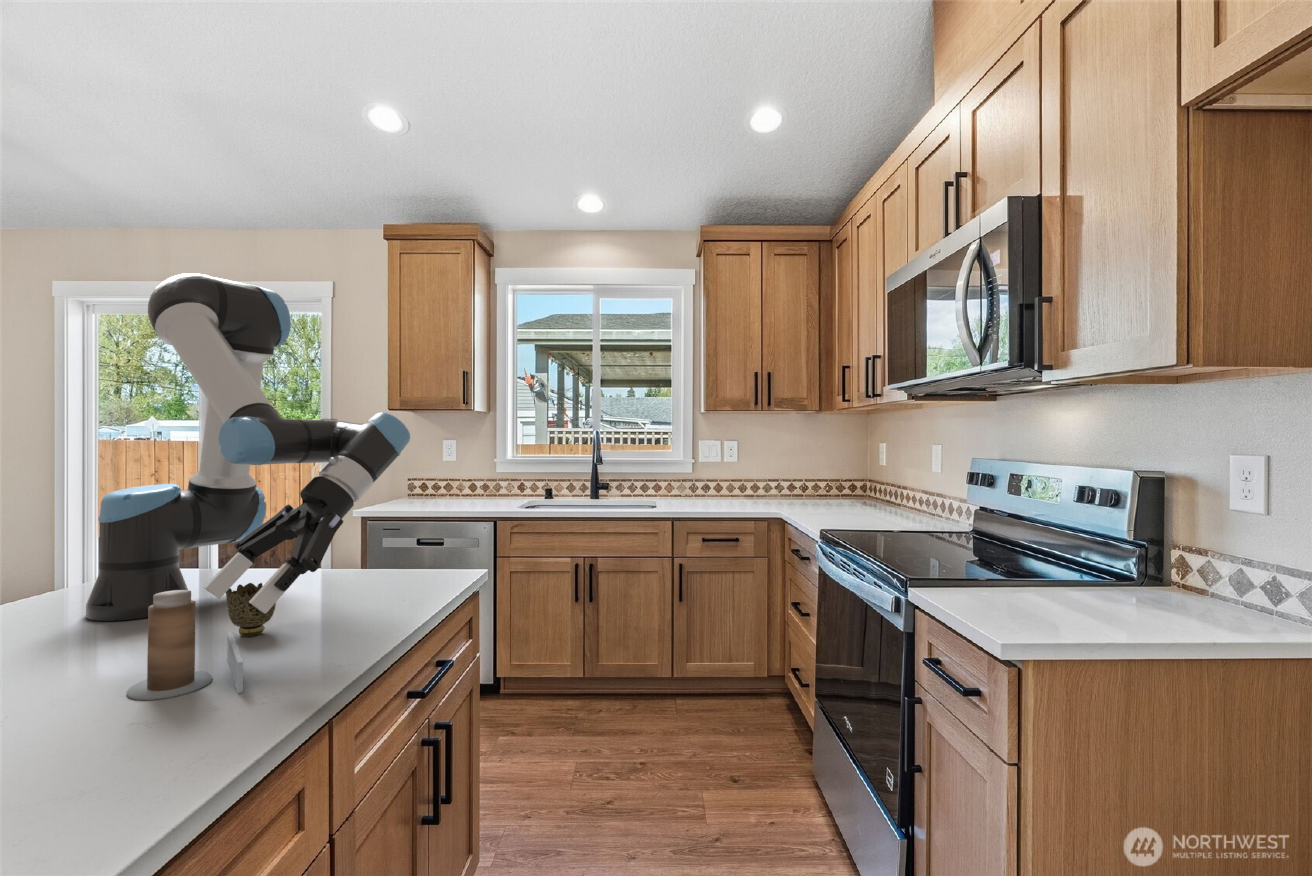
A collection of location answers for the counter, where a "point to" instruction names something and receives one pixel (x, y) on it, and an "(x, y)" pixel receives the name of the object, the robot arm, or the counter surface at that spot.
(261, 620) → the cup
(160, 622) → the pepper mill
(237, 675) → the acrylic wall
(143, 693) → the coaster
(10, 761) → the counter surface
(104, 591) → the robot arm
